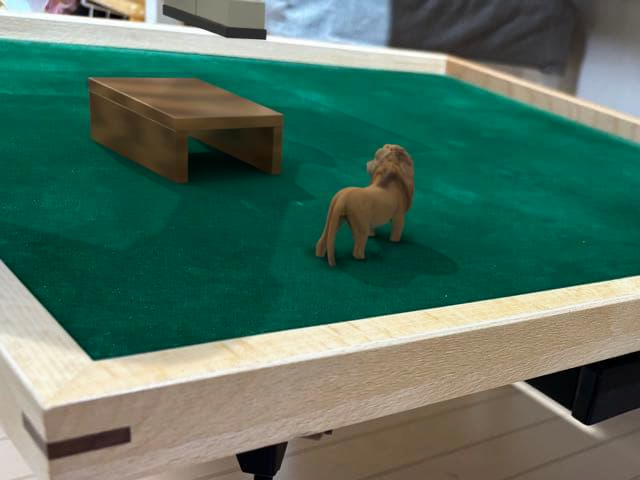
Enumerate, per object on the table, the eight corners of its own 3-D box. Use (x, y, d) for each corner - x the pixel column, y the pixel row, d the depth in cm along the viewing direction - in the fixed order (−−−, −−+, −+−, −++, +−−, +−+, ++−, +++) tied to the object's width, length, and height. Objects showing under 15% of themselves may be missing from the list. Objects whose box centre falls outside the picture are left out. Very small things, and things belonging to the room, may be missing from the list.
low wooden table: (91, 149, 90) (87, 77, 87) (196, 144, 99) (196, 77, 96) (176, 195, 83) (176, 118, 80) (280, 184, 92) (284, 114, 89)
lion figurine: (365, 228, 85) (374, 134, 81) (417, 241, 85) (429, 148, 80) (301, 274, 72) (308, 165, 68) (362, 289, 72) (373, 181, 67)
